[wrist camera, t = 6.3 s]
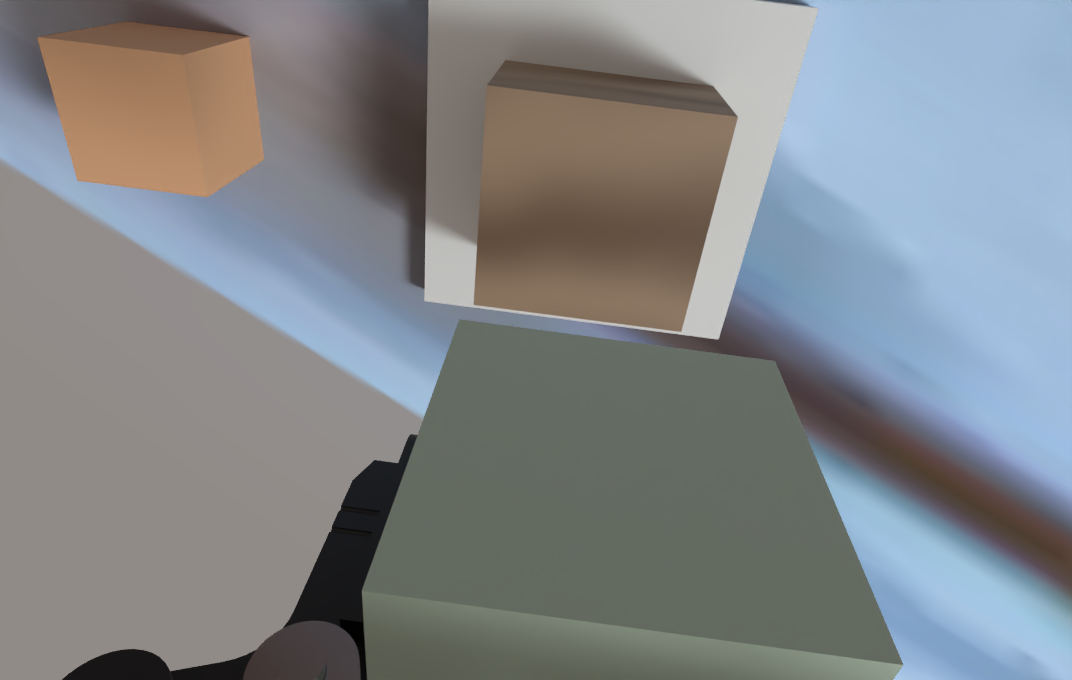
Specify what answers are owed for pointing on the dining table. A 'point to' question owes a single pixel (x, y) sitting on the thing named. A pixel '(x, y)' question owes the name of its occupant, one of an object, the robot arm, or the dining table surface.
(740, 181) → the grey plate
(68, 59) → the terracotta block
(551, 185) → the walnut base block
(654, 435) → the sage block
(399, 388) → the dining table surface
